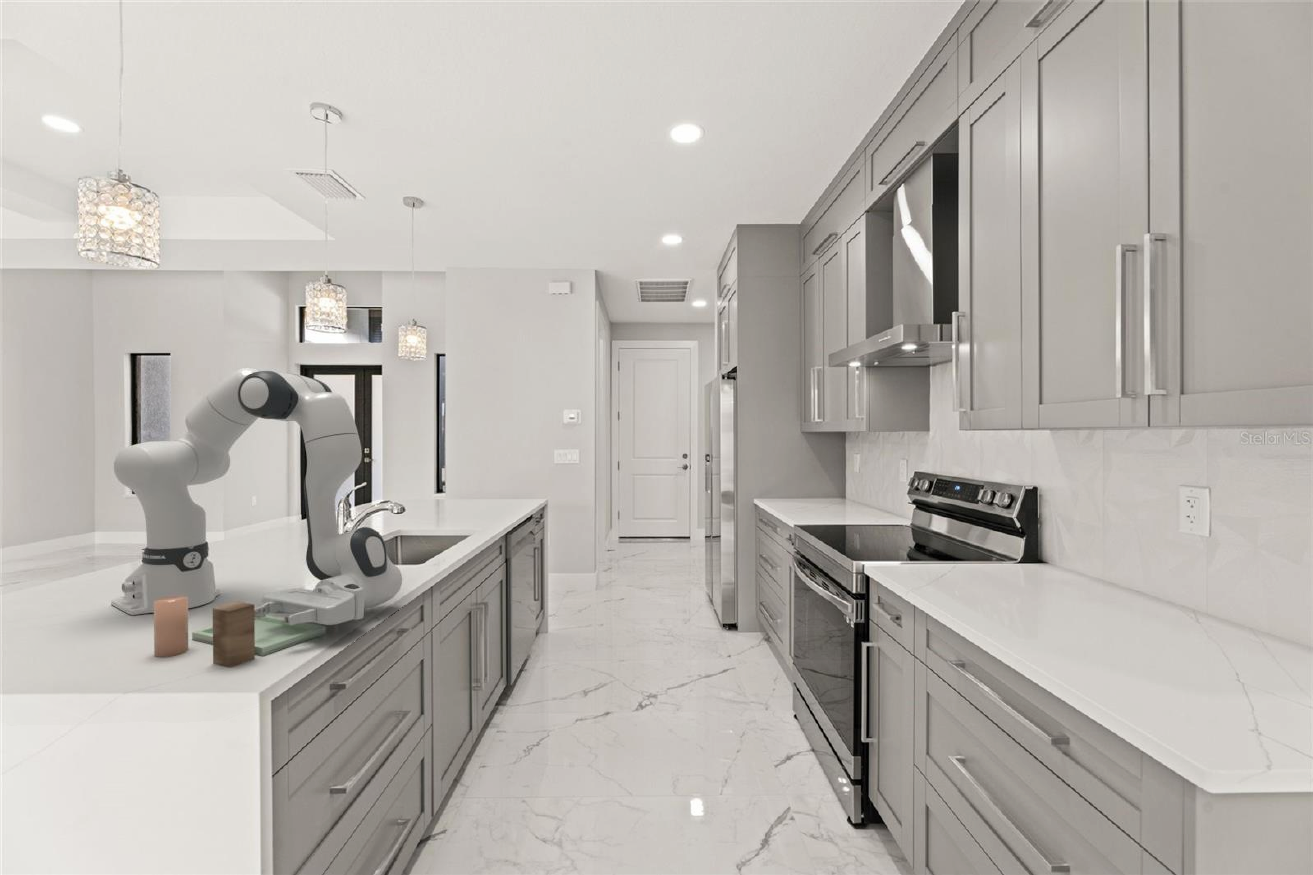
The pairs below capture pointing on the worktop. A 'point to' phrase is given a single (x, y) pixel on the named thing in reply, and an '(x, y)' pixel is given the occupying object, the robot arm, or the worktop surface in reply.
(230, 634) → the walnut block
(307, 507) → the robot arm
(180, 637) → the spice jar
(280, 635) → the tray
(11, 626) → the worktop surface
